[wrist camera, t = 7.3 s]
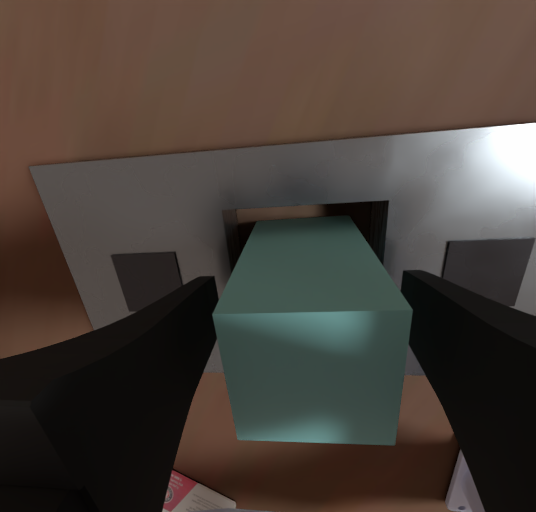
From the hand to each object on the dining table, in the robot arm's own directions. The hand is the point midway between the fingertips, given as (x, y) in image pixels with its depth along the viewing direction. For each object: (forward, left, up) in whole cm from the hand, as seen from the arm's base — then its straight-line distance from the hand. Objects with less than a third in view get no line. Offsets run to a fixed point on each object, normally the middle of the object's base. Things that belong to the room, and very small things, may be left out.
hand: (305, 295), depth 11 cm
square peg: (0, 0, -4) cm, 4 cm away
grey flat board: (0, 0, -4) cm, 4 cm away
